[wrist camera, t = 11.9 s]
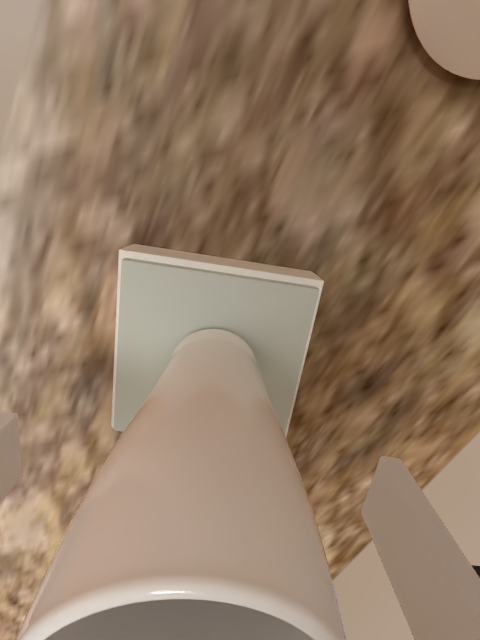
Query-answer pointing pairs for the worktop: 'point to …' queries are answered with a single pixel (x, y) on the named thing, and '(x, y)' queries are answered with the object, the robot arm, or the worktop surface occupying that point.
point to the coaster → (208, 319)
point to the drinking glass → (193, 520)
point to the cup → (450, 33)
